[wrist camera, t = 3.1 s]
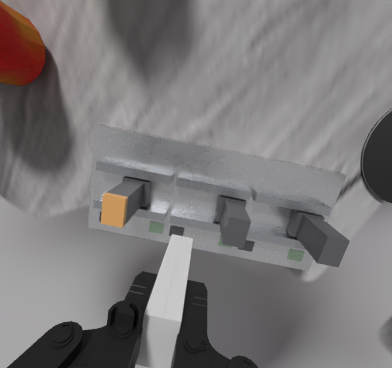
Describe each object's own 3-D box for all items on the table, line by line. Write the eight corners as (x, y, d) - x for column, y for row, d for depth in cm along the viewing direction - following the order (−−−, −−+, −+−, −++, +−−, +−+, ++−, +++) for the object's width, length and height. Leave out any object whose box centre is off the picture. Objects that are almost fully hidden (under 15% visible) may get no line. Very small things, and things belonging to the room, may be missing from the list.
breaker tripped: (124, 198, 26) (95, 223, 19) (127, 174, 25) (97, 192, 18) (148, 203, 26) (127, 229, 19) (151, 179, 25) (131, 199, 18)
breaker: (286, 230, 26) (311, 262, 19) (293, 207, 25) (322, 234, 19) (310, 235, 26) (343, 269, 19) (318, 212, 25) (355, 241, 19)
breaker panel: (96, 220, 29) (81, 233, 25) (102, 124, 25) (86, 124, 22) (301, 261, 29) (314, 279, 25) (336, 171, 25) (356, 178, 22)
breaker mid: (214, 216, 26) (216, 244, 19) (219, 193, 25) (224, 214, 19) (238, 220, 26) (248, 250, 19) (244, 198, 25) (257, 221, 19)
